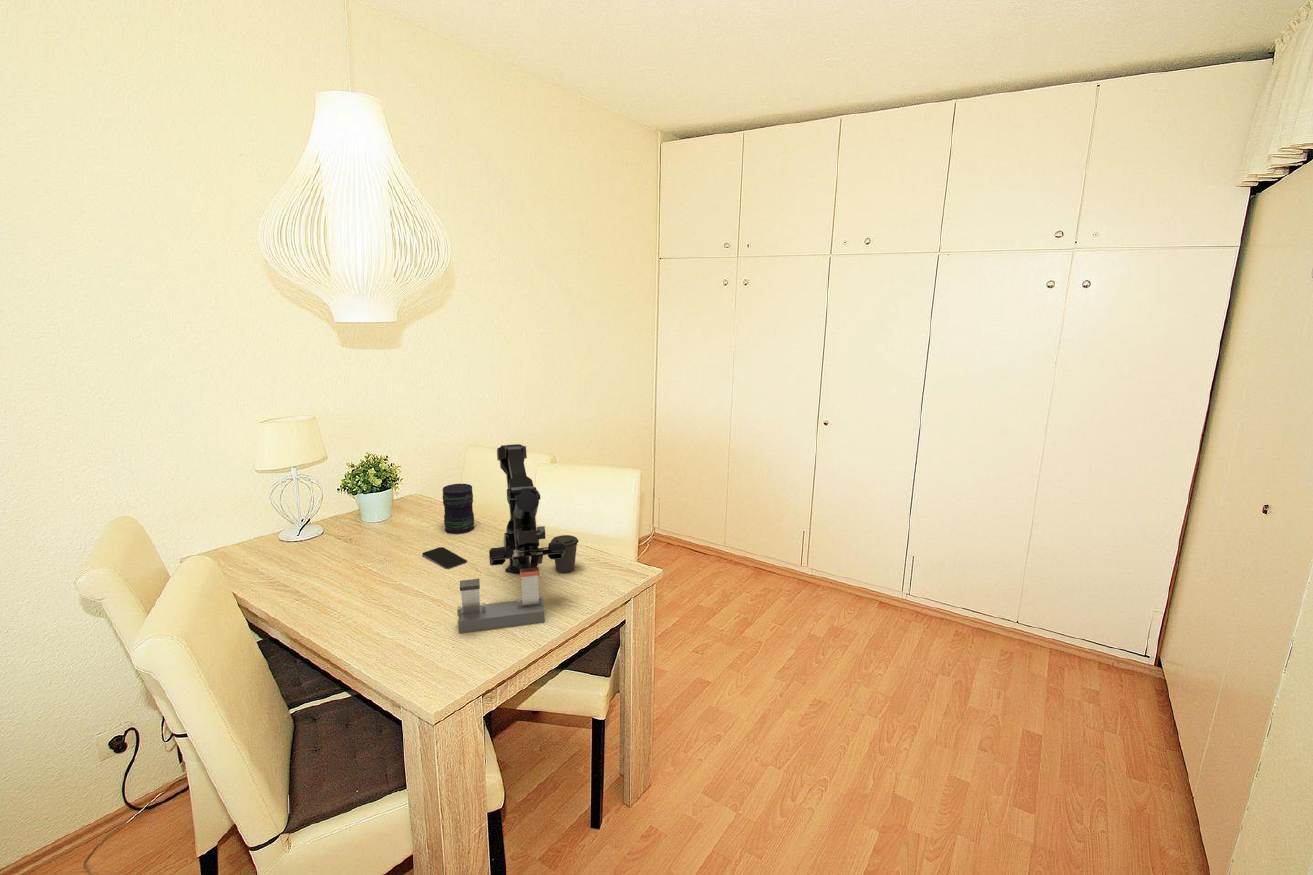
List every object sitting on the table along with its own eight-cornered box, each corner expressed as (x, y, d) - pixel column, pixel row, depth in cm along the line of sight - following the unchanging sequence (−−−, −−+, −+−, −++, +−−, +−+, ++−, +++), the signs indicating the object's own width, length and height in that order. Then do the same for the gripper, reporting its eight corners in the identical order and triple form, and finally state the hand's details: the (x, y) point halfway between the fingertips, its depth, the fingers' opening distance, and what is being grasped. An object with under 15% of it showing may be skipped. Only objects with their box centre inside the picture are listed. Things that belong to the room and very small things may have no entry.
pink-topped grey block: (521, 601, 145) (520, 568, 143) (539, 599, 146) (538, 566, 144) (521, 606, 143) (520, 572, 141) (539, 603, 144) (539, 570, 142)
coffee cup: (545, 571, 171) (544, 539, 168) (562, 561, 178) (561, 530, 175) (568, 577, 167) (567, 545, 165) (584, 567, 174) (584, 535, 172)
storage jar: (480, 526, 204) (478, 485, 201) (461, 536, 195) (459, 493, 192) (458, 522, 208) (455, 482, 205) (438, 531, 199) (435, 489, 196)
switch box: (458, 618, 144) (457, 600, 143) (542, 608, 150) (542, 590, 149) (457, 633, 137) (456, 615, 136) (545, 621, 143) (544, 604, 142)
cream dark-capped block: (462, 607, 141) (459, 580, 137) (480, 605, 142) (479, 578, 138) (461, 614, 139) (459, 587, 135) (481, 612, 140) (479, 585, 136)
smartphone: (446, 569, 170) (420, 553, 180) (446, 572, 171) (420, 556, 180) (468, 561, 176) (442, 546, 185) (469, 564, 176) (442, 549, 185)
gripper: (487, 518, 143) (490, 580, 135) (563, 512, 148) (570, 571, 141) (488, 535, 152) (491, 594, 145) (560, 529, 157) (566, 585, 150)
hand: (529, 586), depth 145 cm, fingers closed, pressing on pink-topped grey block
